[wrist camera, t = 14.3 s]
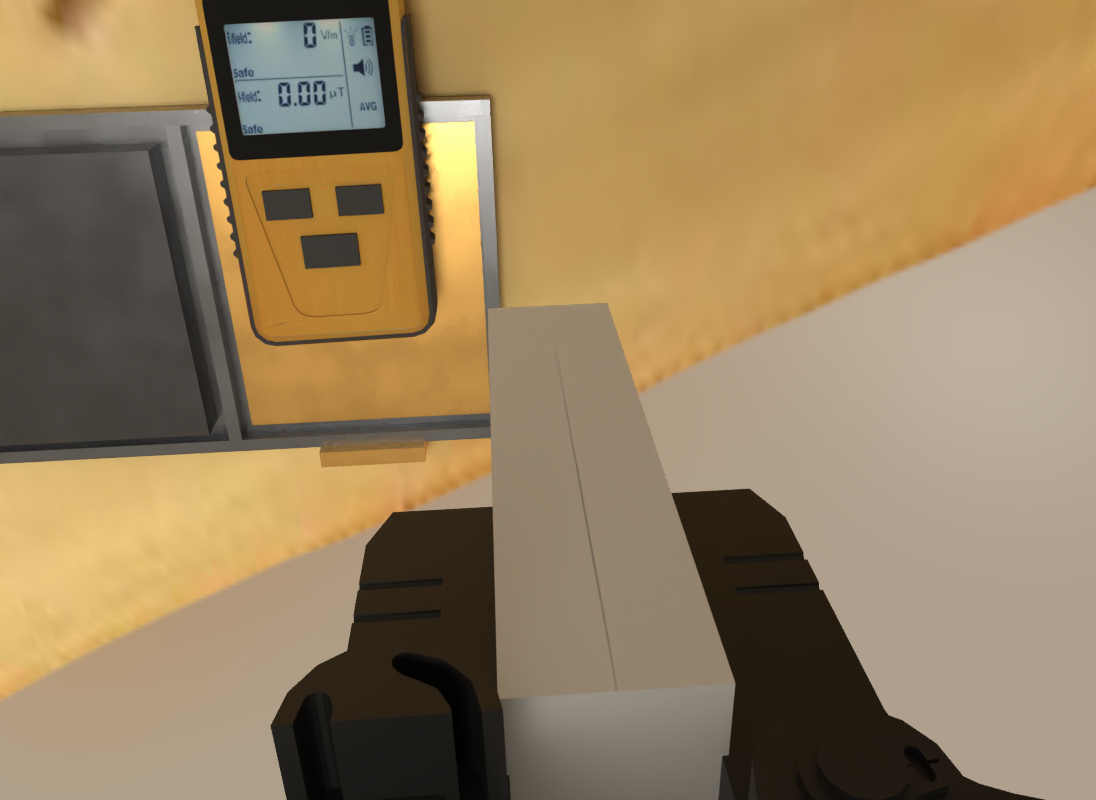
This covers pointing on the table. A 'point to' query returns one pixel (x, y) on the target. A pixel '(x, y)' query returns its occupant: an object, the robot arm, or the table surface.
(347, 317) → the electronic device
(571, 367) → the robot arm
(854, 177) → the table surface
